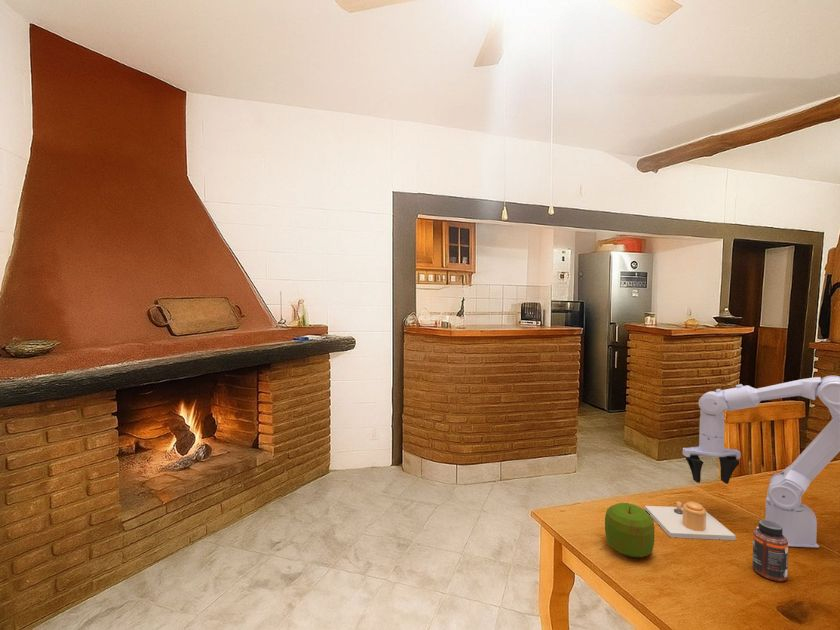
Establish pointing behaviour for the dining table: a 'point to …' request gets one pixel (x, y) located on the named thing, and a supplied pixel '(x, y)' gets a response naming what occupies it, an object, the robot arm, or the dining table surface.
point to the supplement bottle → (770, 551)
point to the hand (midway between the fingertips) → (710, 481)
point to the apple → (629, 530)
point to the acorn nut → (694, 516)
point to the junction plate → (673, 526)
